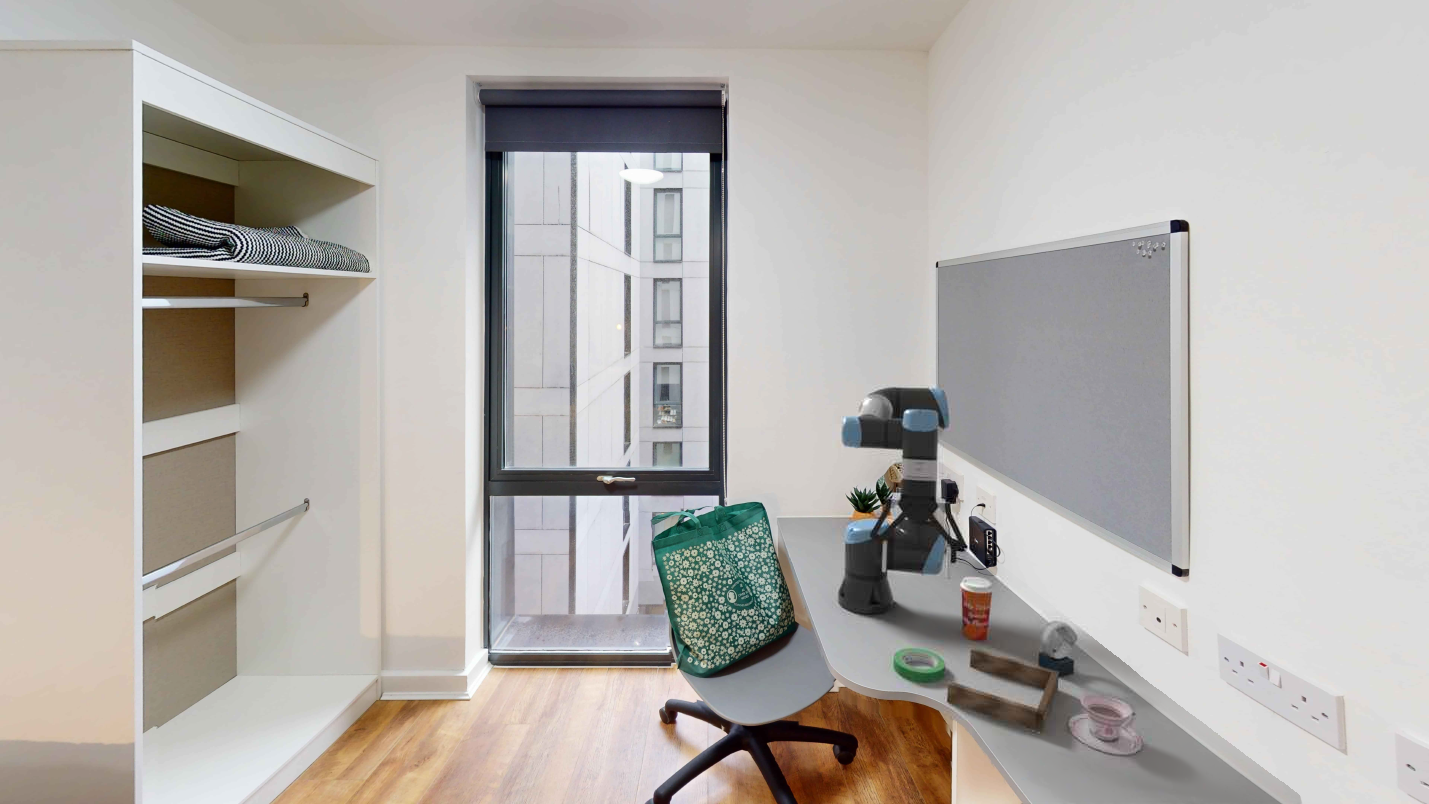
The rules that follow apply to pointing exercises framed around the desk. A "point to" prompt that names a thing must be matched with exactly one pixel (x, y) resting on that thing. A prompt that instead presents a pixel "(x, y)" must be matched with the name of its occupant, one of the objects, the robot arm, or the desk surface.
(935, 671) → the tape roll
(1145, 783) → the desk surface
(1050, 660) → the watch
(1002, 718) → the u-shaped wooden frame
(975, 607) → the paper cup
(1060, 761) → the desk surface
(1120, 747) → the teacup
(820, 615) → the desk surface
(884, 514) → the robot arm
